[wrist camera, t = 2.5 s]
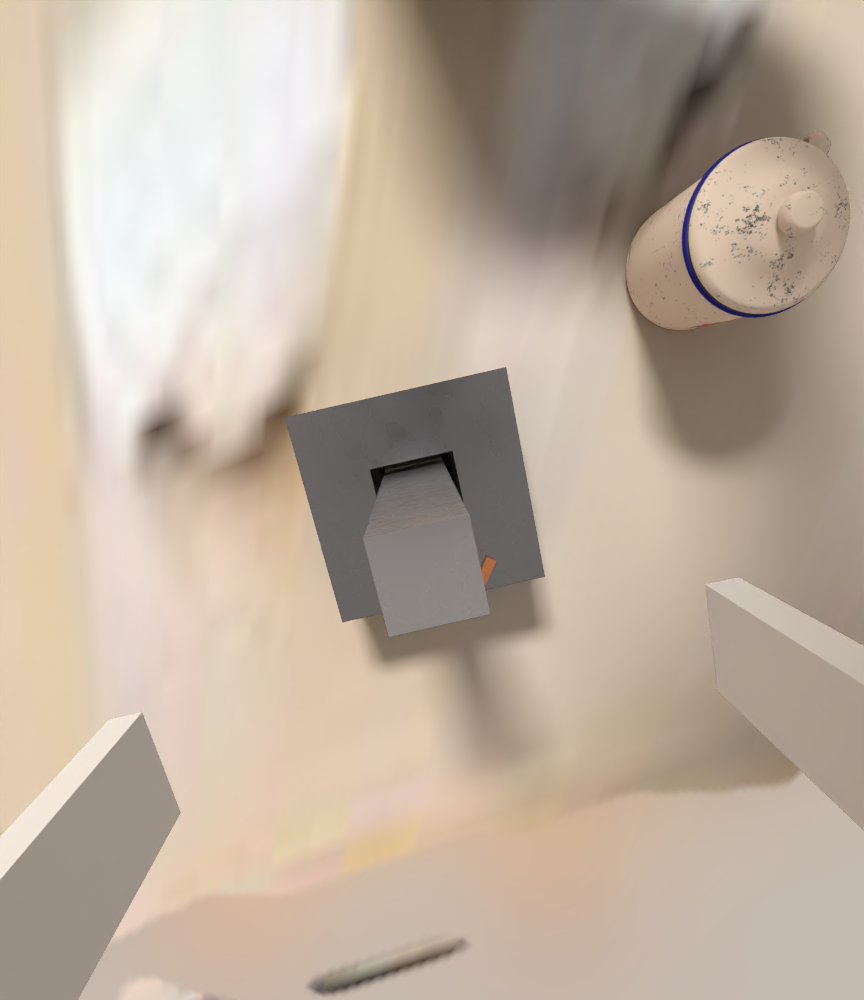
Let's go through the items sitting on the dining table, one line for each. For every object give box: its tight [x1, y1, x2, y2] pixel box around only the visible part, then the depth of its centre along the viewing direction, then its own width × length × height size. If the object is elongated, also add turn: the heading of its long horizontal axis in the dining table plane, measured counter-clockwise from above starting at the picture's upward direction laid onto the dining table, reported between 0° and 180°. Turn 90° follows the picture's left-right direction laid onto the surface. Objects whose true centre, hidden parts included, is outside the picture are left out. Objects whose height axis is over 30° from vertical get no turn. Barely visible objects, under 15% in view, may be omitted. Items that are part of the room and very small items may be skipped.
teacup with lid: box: [626, 131, 850, 330], centre depth 30 cm, size 12×9×12 cm
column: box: [363, 454, 490, 637], centre depth 29 cm, size 5×4×20 cm
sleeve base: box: [285, 367, 545, 622], centre depth 35 cm, size 14×14×8 cm
